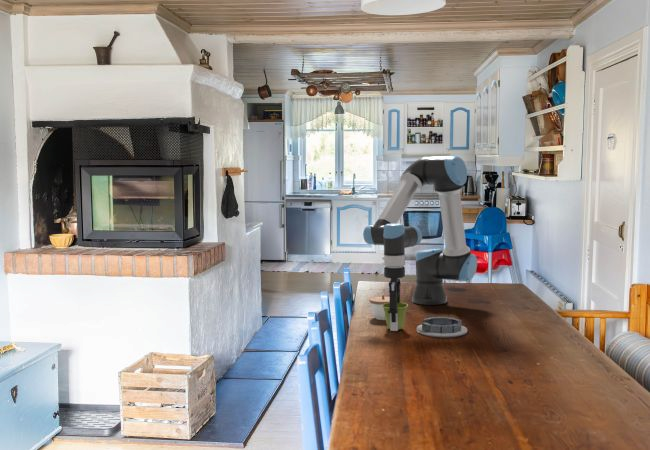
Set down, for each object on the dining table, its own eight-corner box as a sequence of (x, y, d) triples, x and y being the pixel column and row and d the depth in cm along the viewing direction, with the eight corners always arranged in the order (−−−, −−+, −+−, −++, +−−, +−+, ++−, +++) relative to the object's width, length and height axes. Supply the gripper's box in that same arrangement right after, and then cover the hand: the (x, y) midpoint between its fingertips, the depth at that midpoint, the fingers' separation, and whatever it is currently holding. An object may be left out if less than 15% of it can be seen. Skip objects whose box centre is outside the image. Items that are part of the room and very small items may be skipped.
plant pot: (407, 331, 241) (407, 308, 241) (381, 331, 243) (380, 307, 242) (409, 325, 250) (409, 302, 250) (384, 324, 252) (383, 302, 252)
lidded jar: (387, 322, 258) (387, 298, 257) (364, 319, 264) (364, 295, 263) (402, 317, 266) (401, 294, 265) (379, 314, 273) (378, 291, 272)
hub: (442, 323, 256) (442, 313, 255) (477, 332, 241) (477, 322, 240) (406, 329, 246) (406, 320, 246) (440, 340, 231) (440, 330, 231)
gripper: (387, 261, 256) (388, 320, 258) (380, 270, 235) (381, 334, 237) (407, 261, 254) (407, 321, 256) (402, 271, 234) (402, 335, 236)
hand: (395, 327), depth 247 cm, fingers closed on plant pot, 8 cm apart
